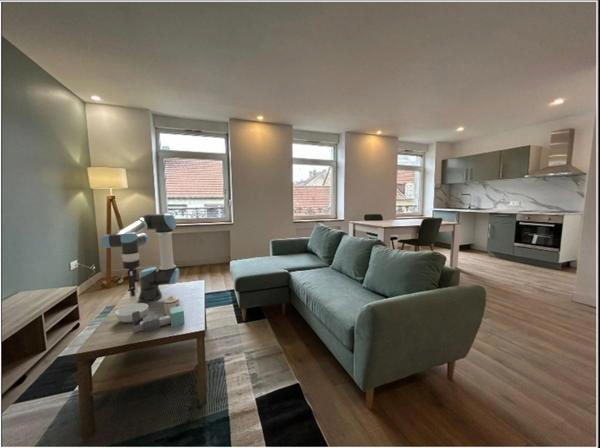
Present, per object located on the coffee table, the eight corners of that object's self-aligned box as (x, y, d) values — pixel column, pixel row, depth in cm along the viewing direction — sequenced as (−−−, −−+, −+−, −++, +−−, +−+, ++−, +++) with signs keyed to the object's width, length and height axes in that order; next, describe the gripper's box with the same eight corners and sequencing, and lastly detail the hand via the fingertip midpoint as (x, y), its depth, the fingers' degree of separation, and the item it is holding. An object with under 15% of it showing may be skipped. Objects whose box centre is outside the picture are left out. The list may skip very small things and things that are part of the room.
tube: (133, 329, 137) (132, 312, 136) (177, 318, 149) (176, 302, 148) (133, 332, 134) (131, 314, 133) (178, 321, 146) (177, 304, 145)
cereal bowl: (111, 328, 141) (110, 316, 141) (123, 315, 157) (122, 305, 156) (144, 323, 146) (143, 312, 145) (152, 311, 162) (151, 301, 161)
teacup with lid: (177, 315, 157) (176, 297, 155) (162, 316, 154) (161, 299, 153) (182, 307, 168) (181, 291, 167) (167, 308, 166) (166, 292, 165)
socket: (170, 320, 150) (169, 308, 149) (183, 317, 153) (182, 305, 152) (171, 326, 142) (170, 313, 141) (184, 323, 146) (183, 310, 145)
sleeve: (143, 327, 142) (143, 317, 141) (159, 323, 146) (158, 313, 145) (143, 333, 136) (142, 322, 135) (159, 328, 140) (159, 318, 139)
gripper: (125, 256, 141) (128, 291, 144) (120, 266, 120) (124, 307, 122) (140, 255, 145) (143, 288, 147) (138, 264, 124) (141, 303, 126)
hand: (134, 297), depth 135 cm, fingers open, 13 cm apart
